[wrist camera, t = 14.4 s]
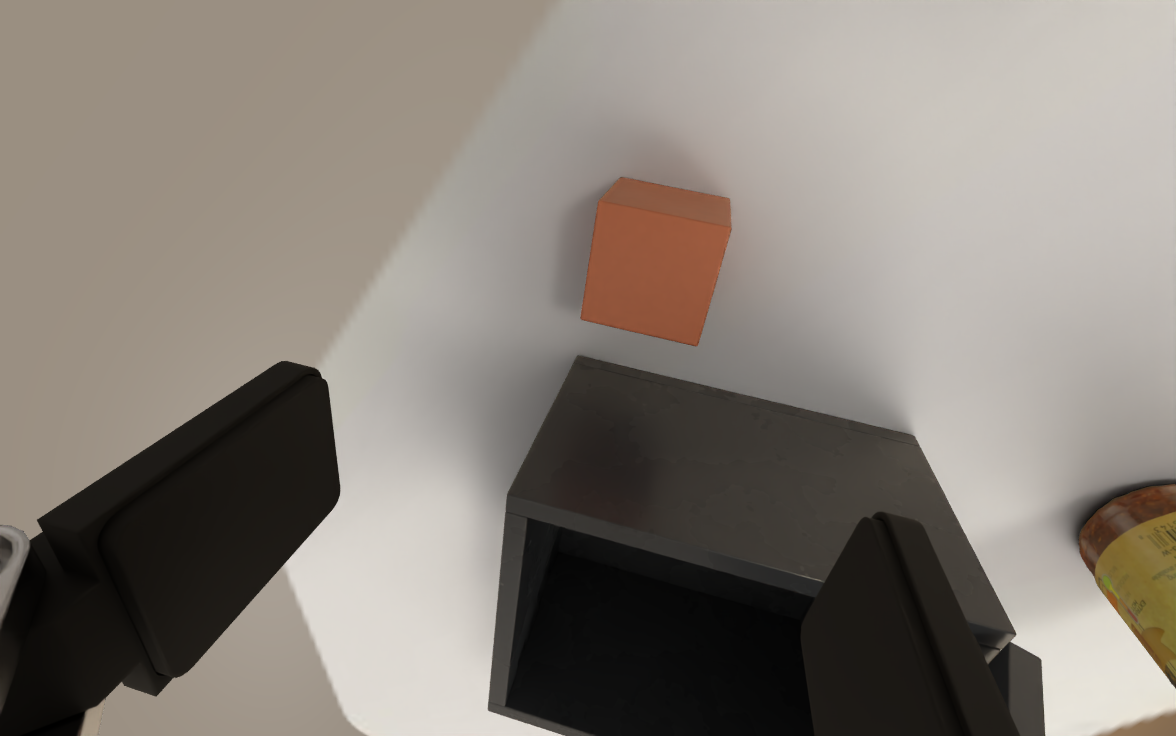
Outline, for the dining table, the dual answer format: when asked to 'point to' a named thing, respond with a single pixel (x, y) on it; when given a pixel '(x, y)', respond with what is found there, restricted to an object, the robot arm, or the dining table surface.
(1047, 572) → the dining table surface
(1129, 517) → the sauce bottle
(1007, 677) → the box lid with handle
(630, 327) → the block
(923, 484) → the dark grey hollow box
